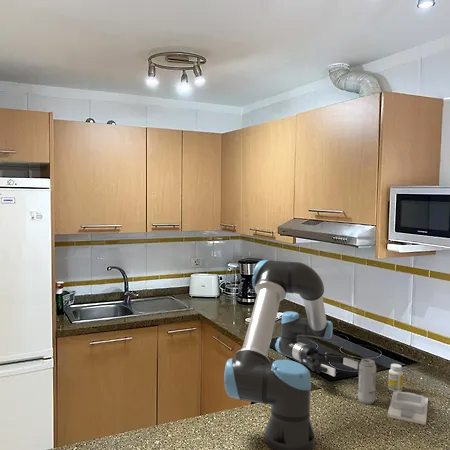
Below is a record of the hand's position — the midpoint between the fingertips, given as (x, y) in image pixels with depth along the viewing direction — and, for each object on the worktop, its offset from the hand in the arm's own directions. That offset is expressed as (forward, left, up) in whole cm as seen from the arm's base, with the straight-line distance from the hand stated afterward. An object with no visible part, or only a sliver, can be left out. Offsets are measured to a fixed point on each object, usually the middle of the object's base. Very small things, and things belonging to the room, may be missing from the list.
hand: (346, 369), depth 171 cm
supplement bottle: (+21, -1, -9) cm, 23 cm away
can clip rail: (+16, -17, -9) cm, 25 cm away
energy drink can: (+4, -9, -9) cm, 13 cm away
